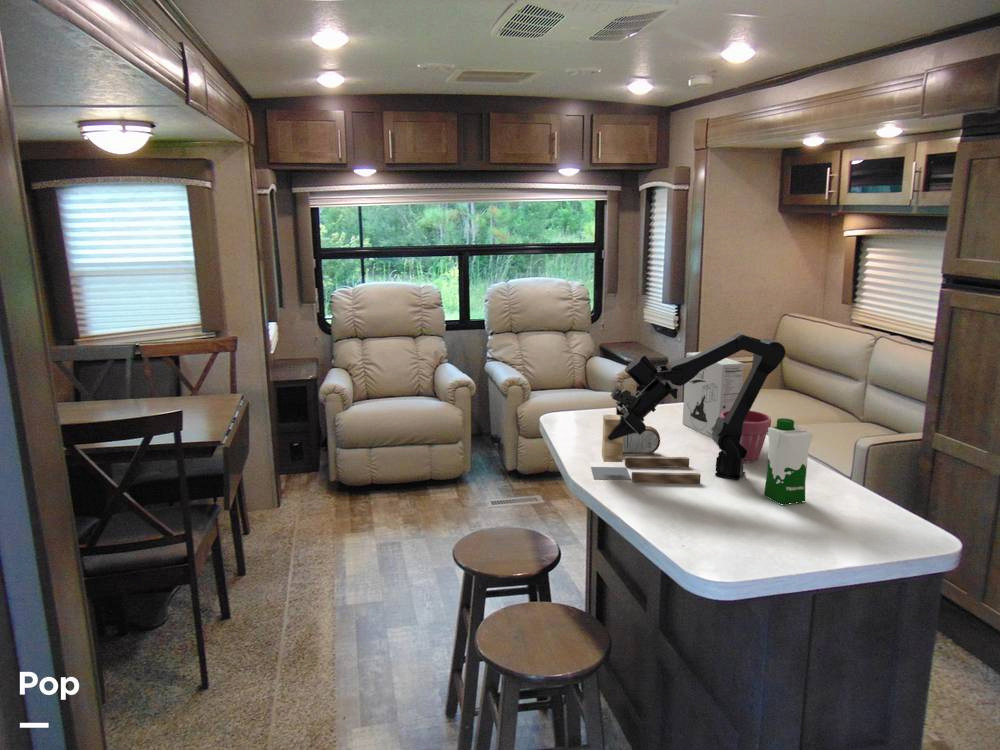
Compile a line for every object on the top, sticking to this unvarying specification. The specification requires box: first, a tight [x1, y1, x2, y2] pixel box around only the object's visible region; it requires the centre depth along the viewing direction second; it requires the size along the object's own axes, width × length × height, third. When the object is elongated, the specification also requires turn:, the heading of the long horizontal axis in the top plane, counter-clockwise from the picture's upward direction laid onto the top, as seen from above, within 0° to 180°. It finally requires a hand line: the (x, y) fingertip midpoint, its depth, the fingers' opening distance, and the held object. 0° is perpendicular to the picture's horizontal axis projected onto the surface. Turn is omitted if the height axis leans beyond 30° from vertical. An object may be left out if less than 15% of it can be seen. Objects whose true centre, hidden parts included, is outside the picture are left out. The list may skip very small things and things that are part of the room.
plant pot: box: [721, 410, 772, 463], centre depth 217 cm, size 14×14×13 cm
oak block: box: [601, 414, 624, 463], centre depth 202 cm, size 5×5×12 cm
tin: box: [623, 425, 661, 455], centre depth 221 cm, size 15×3×8 cm, turn 84°
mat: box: [590, 466, 632, 481], centre depth 204 cm, size 10×10×1 cm
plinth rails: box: [624, 455, 702, 485], centre depth 204 cm, size 18×15×2 cm
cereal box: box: [682, 351, 744, 439], centre depth 243 cm, size 22×8×25 cm, turn 17°
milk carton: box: [763, 417, 815, 505], centre depth 184 cm, size 9×9×20 cm
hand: (607, 436), depth 202 cm, fingers closed on oak block, 5 cm apart
